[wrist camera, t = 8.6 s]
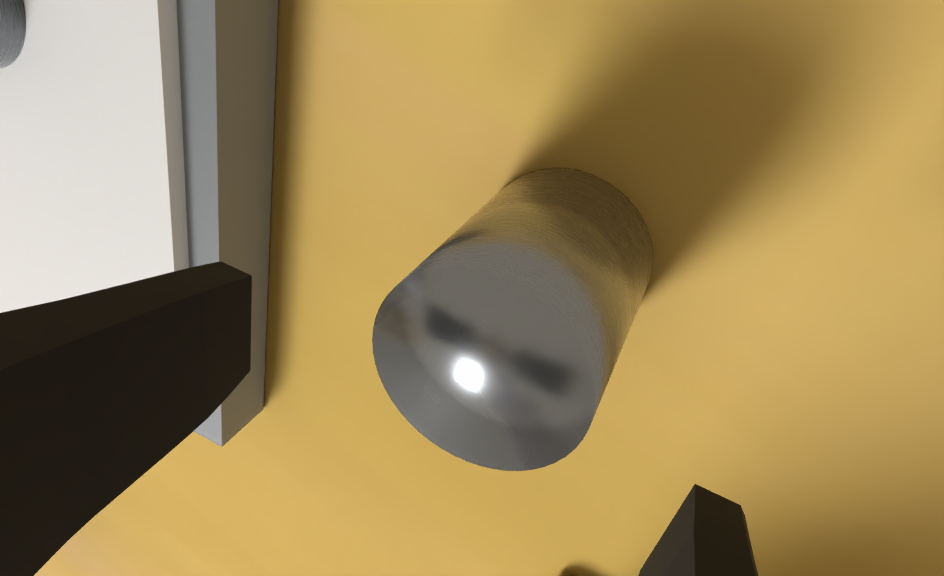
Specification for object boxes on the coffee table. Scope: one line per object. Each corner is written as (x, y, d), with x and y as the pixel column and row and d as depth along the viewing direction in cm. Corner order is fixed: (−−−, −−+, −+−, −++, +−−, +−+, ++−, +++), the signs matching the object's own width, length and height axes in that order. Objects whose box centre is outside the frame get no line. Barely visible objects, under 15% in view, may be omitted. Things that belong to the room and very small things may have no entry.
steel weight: (616, 354, 15) (554, 505, 11) (467, 288, 16) (360, 408, 12) (682, 208, 13) (631, 333, 9) (504, 141, 14) (388, 229, 10)
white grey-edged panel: (263, 409, 22) (181, 484, 19) (-44, 247, 25) (-154, 289, 23) (283, -140, 13) (135, -157, 10) (-194, -277, 17) (-409, -320, 14)
